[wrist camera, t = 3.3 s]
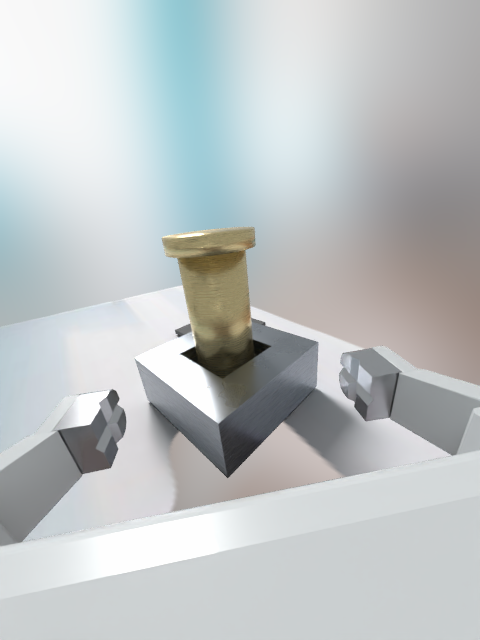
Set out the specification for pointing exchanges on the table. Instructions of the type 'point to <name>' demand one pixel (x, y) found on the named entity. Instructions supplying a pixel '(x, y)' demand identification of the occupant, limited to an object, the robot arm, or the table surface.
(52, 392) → the table surface
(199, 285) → the brass flanged peg
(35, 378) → the table surface
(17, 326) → the table surface
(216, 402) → the housing
